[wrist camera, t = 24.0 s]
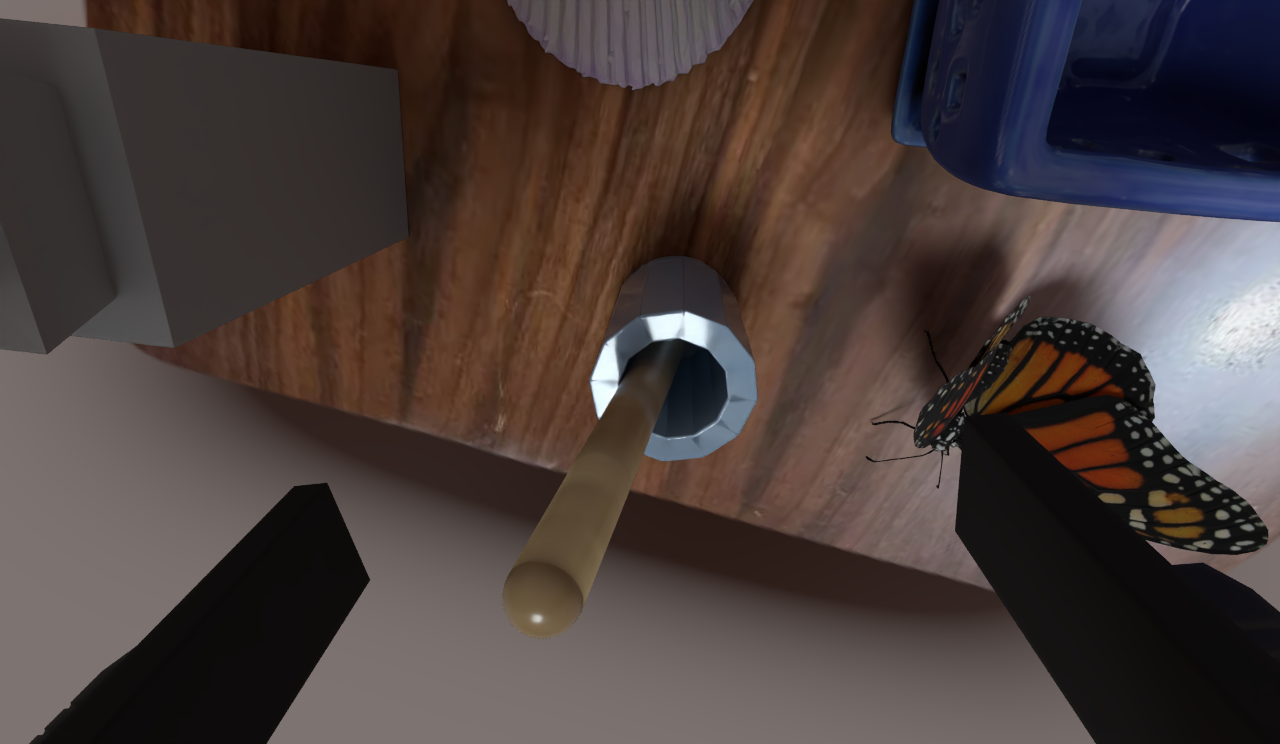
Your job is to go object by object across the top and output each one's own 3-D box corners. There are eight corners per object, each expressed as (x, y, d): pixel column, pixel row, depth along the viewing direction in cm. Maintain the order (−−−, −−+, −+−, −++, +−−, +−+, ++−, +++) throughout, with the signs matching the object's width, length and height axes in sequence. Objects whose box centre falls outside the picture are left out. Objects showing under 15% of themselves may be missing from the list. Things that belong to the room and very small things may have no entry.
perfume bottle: (408, 236, 27) (-31, 444, 10) (262, 220, 27) (-407, 400, 10) (397, 69, 24) (-232, -17, 7) (233, 52, 24) (-744, -70, 8)
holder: (598, 345, 28) (570, 428, 21) (640, 236, 26) (624, 286, 19) (706, 386, 29) (715, 481, 21) (756, 282, 26) (785, 349, 19)
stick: (654, 330, 27) (479, 634, 11) (667, 299, 26) (500, 578, 10) (686, 344, 27) (556, 670, 11) (700, 314, 26) (581, 616, 10)
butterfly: (781, 413, 29) (828, 552, 20) (891, 229, 25) (1011, 298, 16) (992, 500, 30) (1127, 667, 21) (1128, 337, 26) (1364, 458, 17)
